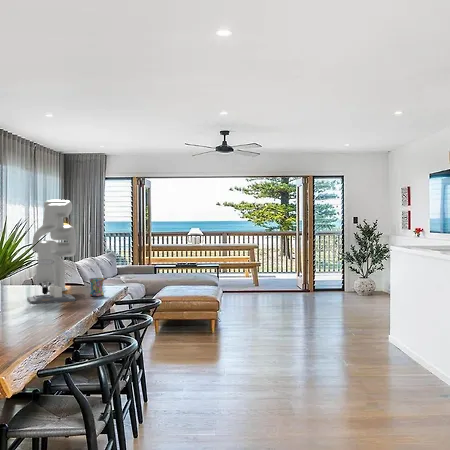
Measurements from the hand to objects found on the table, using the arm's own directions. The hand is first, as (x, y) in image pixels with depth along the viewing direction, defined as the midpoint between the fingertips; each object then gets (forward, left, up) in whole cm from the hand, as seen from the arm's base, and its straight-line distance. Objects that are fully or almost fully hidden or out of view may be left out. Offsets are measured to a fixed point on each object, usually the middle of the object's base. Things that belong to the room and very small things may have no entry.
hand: (45, 294), depth 302 cm
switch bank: (+4, +3, -3) cm, 6 cm away
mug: (0, +30, -4) cm, 30 cm away
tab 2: (+8, +6, -2) cm, 10 cm away
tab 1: (0, +5, -2) cm, 5 cm away
